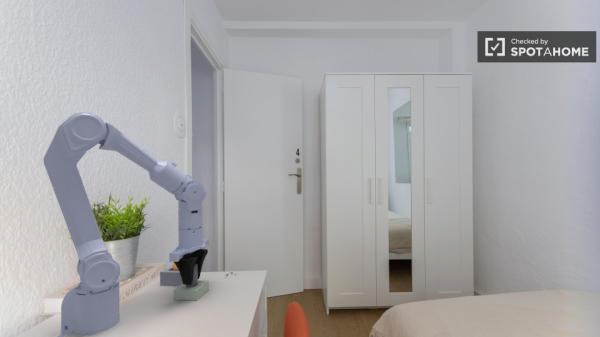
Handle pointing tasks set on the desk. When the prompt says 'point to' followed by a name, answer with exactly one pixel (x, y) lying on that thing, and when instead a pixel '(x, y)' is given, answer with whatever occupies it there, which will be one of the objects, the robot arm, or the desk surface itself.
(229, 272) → the game controller
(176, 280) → the grey square socket block
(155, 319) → the desk surface
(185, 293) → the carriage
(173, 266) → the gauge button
